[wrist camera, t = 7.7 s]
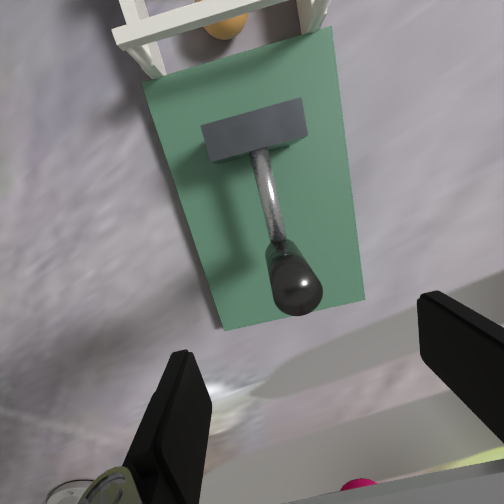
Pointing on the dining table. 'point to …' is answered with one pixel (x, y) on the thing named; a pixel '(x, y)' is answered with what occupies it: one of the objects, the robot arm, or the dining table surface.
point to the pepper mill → (357, 484)
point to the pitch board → (243, 180)
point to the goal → (193, 24)
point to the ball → (226, 27)
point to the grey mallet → (270, 193)
